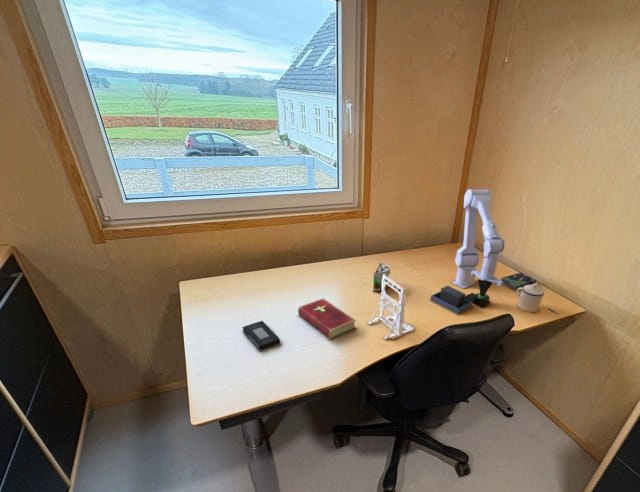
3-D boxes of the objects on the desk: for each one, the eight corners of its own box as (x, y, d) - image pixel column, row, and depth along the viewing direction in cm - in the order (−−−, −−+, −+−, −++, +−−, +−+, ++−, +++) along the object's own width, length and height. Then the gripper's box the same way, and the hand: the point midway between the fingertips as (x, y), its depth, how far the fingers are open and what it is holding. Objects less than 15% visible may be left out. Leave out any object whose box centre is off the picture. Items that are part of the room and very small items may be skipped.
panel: (471, 295, 166) (473, 288, 164) (490, 304, 160) (492, 297, 158) (463, 299, 162) (464, 292, 160) (482, 308, 156) (484, 301, 154)
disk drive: (518, 277, 187) (499, 282, 179) (520, 272, 185) (501, 277, 178) (535, 285, 180) (516, 291, 172) (537, 280, 178) (517, 286, 171)
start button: (480, 295, 161) (481, 292, 160) (487, 298, 159) (488, 295, 158) (475, 298, 159) (476, 294, 158) (482, 301, 157) (483, 297, 156)
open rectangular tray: (444, 293, 166) (445, 289, 164) (472, 307, 157) (473, 302, 155) (430, 300, 160) (431, 295, 158) (457, 314, 151) (458, 309, 149)
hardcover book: (329, 340, 130) (329, 330, 128) (298, 315, 142) (297, 306, 140) (355, 328, 137) (355, 319, 135) (323, 306, 150) (323, 297, 147)
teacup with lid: (542, 309, 159) (551, 286, 152) (529, 314, 154) (537, 290, 148) (521, 298, 167) (527, 275, 161) (507, 302, 162) (514, 279, 156)
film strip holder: (417, 331, 139) (423, 284, 128) (387, 341, 132) (391, 293, 121) (395, 313, 148) (399, 269, 137) (366, 322, 141) (368, 276, 131)
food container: (386, 295, 161) (387, 275, 156) (372, 293, 162) (373, 273, 157) (391, 283, 171) (392, 263, 166) (378, 281, 172) (379, 262, 167)
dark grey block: (445, 297, 162) (447, 285, 159) (463, 306, 157) (465, 294, 153) (439, 300, 160) (441, 288, 156) (456, 309, 154) (459, 297, 151)
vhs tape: (259, 351, 122) (259, 346, 121) (243, 331, 131) (242, 326, 130) (280, 343, 127) (279, 338, 126) (262, 325, 136) (262, 320, 134)
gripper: (469, 263, 152) (463, 291, 160) (499, 275, 144) (491, 304, 151) (478, 259, 157) (472, 287, 164) (508, 270, 148) (500, 299, 155)
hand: (482, 295), depth 158 cm, fingers closed, pressing on start button
